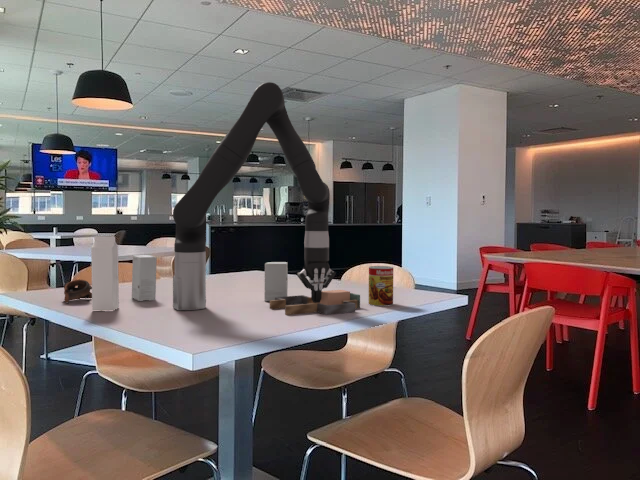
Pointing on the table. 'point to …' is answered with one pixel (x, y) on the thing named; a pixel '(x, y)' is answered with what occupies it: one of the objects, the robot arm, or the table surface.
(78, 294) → the brown dome piece
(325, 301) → the block
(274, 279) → the supplement box
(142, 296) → the skincare box
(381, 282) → the canned food
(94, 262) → the milk
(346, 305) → the channel
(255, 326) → the table surface
